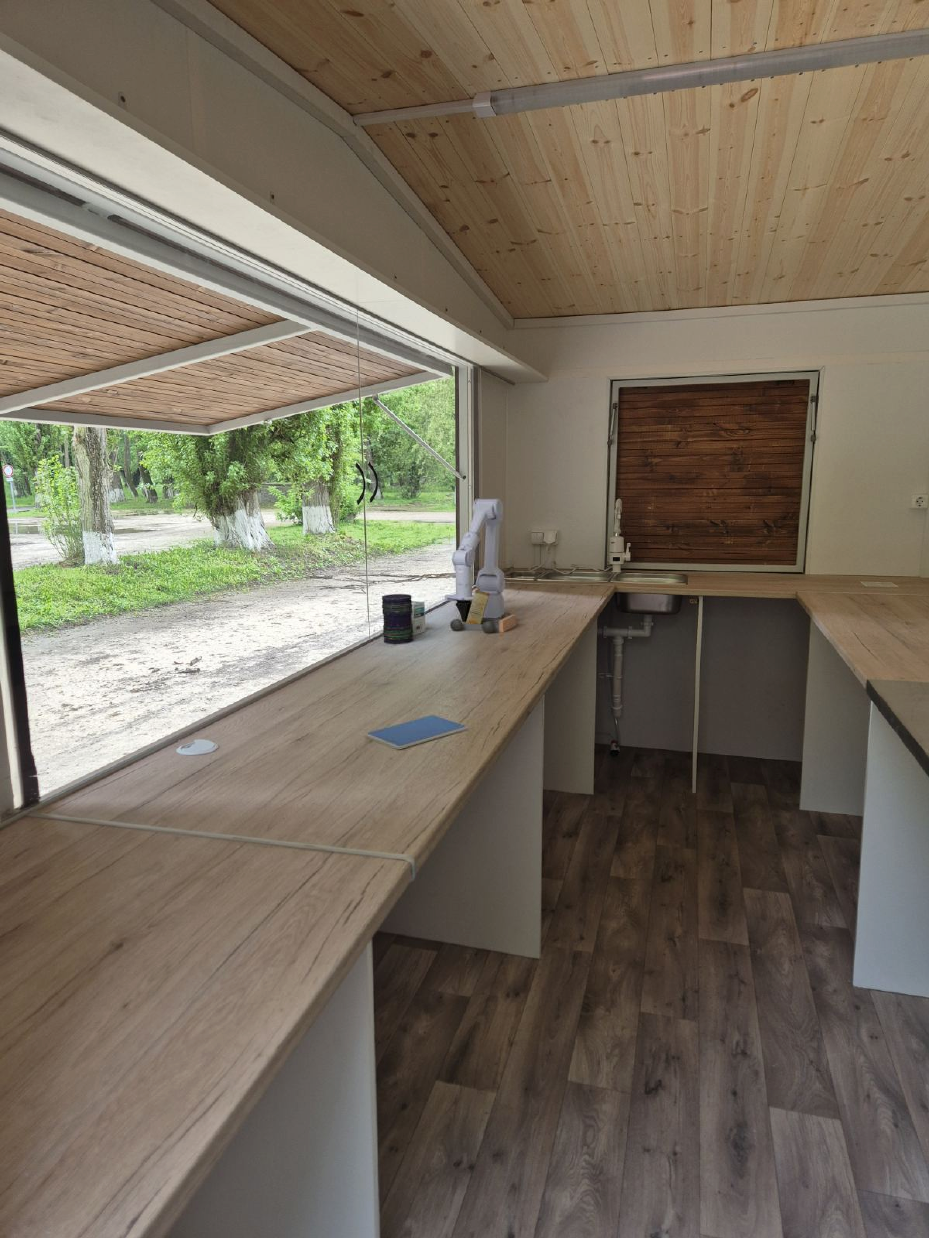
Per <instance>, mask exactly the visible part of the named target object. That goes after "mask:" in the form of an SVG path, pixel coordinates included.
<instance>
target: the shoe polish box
mask: <svg viewBox="0 0 929 1238" xmlns="http://www.w3.org/2000/svg"><path fill="white" fill-rule="evenodd" d="M489 595H490V593H486V592H483V591H480V590H478V589H475V591H474V594H473V596H474V597H473V600H472V604H471V607H470V611H469V614H468V618H467V621H466V624H481V622H482V619H483V615H484V612H485V608H486V605H487V602H488V598H489Z"/></svg>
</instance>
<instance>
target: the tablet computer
mask: <svg viewBox="0 0 929 1238" xmlns="http://www.w3.org/2000/svg"><path fill="white" fill-rule="evenodd" d="M468 729H469V728H468V726H467V725H465V724H463V723H462V724H461V723H458V722H456V721H453V720H449V719H446V718H444V717H440V716H437V715H434V714H433V715H432V714H431V715H427V716H424V717H420V718H416V719H413V720H410V721H406V722H402V723H399V724H396V725H392V726H387V727H384V728H381V729H377V730H376V729H375V730H373V731H369V732H367V733H365V736H364V737H365V738H367V739H368V740H371V741H374V742H376V743H379V744H381V745H384V746H387V747H389V748H390V749H395V750H403V749H407V748H410V747H412V746H416V745H420V744H423V743H426V742H429V741H433V740H437V739H439V738H443V737H445V736H446V737H447V736H450V735H453V734H457V733H460V732H464V731H468Z"/></svg>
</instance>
